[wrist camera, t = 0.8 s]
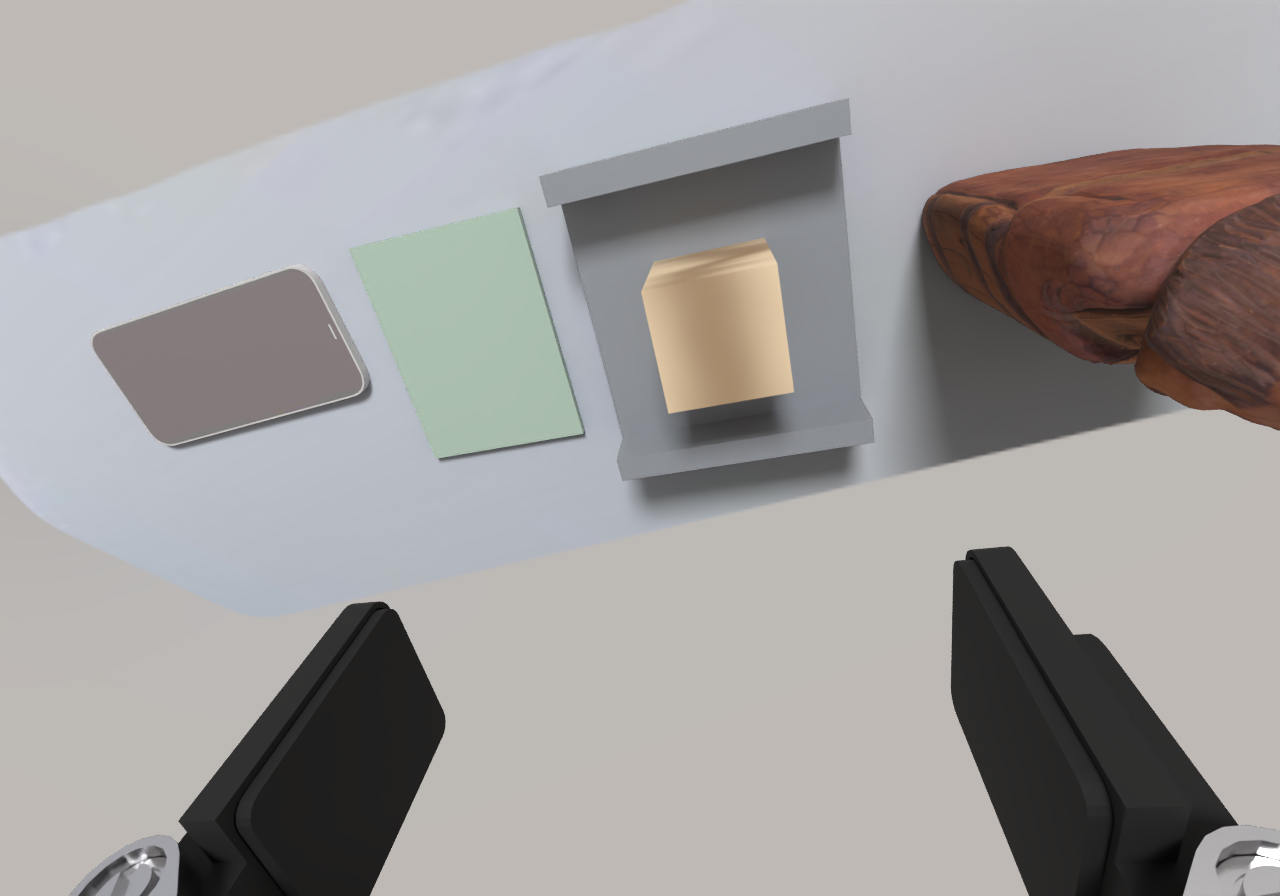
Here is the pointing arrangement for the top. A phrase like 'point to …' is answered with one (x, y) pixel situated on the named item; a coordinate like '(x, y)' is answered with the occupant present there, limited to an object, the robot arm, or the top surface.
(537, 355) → the sage mat
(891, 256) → the top surface
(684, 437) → the gray u-shaped channel
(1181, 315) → the wooden figurine
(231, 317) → the smartphone
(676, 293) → the beech block
